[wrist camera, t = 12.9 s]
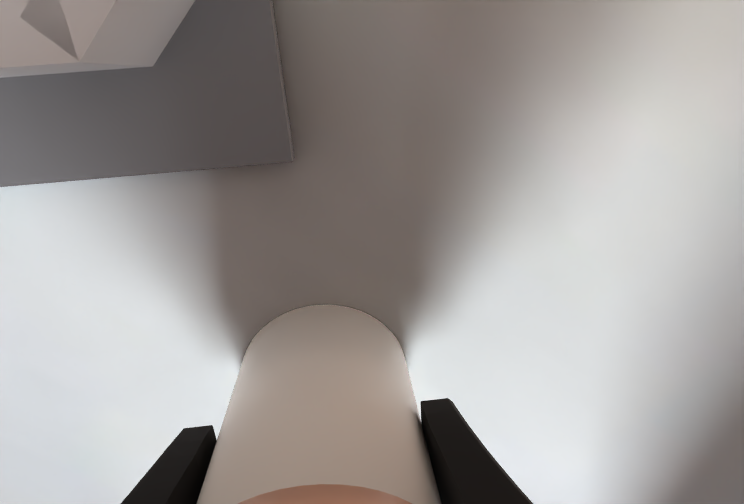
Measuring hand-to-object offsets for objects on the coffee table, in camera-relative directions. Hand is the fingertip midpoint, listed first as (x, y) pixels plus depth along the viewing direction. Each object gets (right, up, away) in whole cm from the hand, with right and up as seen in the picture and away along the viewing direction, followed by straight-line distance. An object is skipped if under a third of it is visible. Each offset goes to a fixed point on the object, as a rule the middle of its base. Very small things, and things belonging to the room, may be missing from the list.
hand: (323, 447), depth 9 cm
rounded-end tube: (0, +1, +2) cm, 2 cm away
